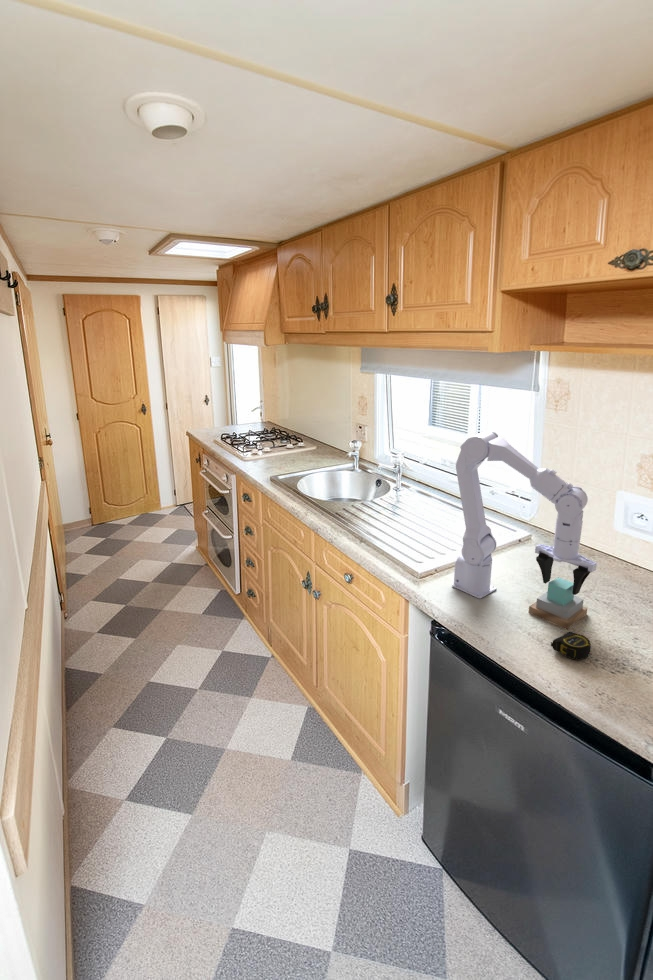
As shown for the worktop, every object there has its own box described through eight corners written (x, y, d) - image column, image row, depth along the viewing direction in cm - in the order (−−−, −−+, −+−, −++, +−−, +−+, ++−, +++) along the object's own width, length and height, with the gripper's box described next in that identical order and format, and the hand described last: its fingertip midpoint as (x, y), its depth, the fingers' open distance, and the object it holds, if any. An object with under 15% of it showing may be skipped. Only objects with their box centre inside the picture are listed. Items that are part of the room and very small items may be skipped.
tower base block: (528, 614, 133) (529, 606, 132) (548, 601, 139) (549, 593, 138) (566, 631, 126) (567, 622, 125) (586, 616, 132) (587, 608, 131)
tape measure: (568, 641, 121) (570, 627, 120) (596, 656, 116) (598, 641, 114) (549, 651, 118) (551, 636, 117) (577, 667, 112) (579, 652, 111)
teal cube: (546, 598, 131) (548, 582, 130) (556, 592, 134) (558, 577, 132) (563, 605, 128) (565, 589, 126) (573, 599, 130) (575, 583, 129)
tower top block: (536, 607, 132) (537, 598, 131) (552, 596, 137) (553, 587, 136) (566, 619, 126) (568, 610, 125) (582, 608, 131) (583, 599, 130)
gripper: (530, 533, 129) (525, 582, 133) (589, 551, 118) (581, 604, 122) (545, 525, 133) (540, 573, 137) (603, 543, 122) (596, 594, 126)
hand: (560, 587), depth 130 cm, fingers open, 7 cm apart
